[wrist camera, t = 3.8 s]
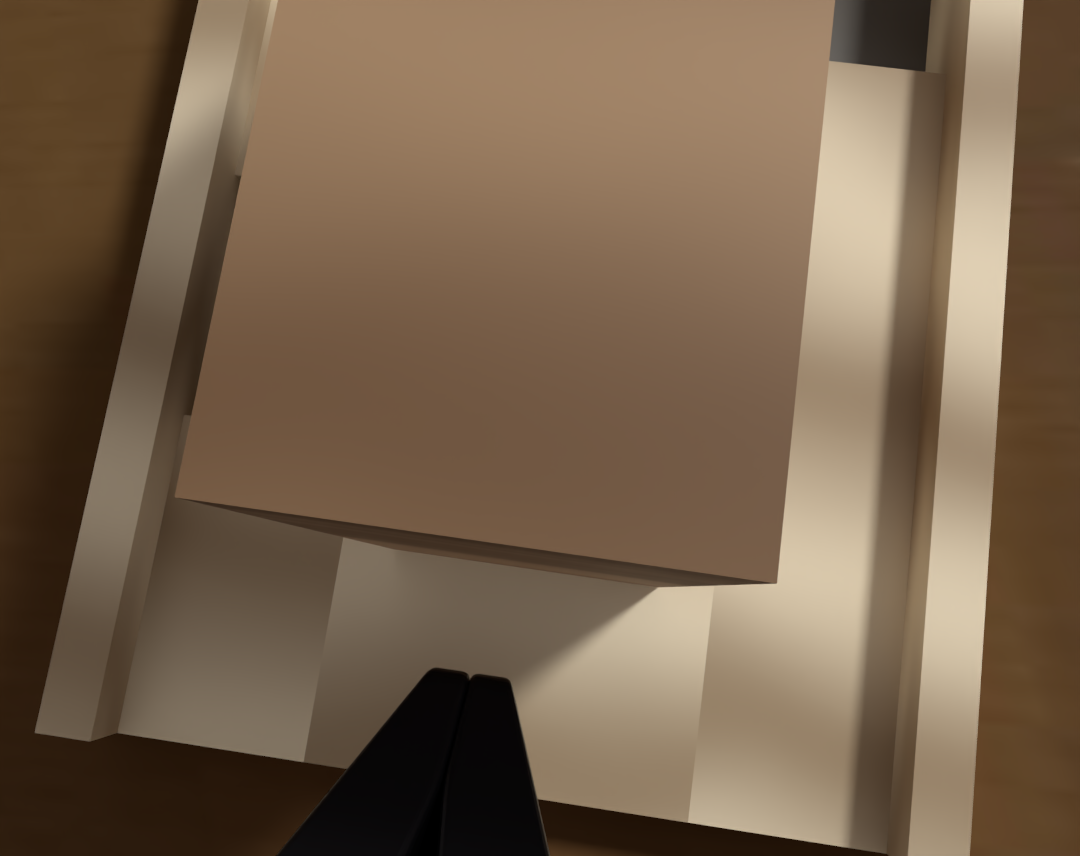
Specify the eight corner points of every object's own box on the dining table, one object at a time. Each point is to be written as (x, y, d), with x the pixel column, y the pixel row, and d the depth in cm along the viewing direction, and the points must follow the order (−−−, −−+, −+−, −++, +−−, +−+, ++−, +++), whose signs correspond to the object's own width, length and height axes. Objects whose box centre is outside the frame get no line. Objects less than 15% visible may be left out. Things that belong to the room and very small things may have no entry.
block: (658, 587, 17) (776, 584, 8) (393, 549, 18) (174, 496, 8) (728, 4, 19) (895, -603, 10) (489, -23, 20) (411, -641, 10)
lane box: (913, 840, 18) (1010, 910, 14) (104, 714, 19) (-19, 747, 15) (999, -347, 22) (1091, -547, 18) (343, -407, 23) (297, -610, 19)
